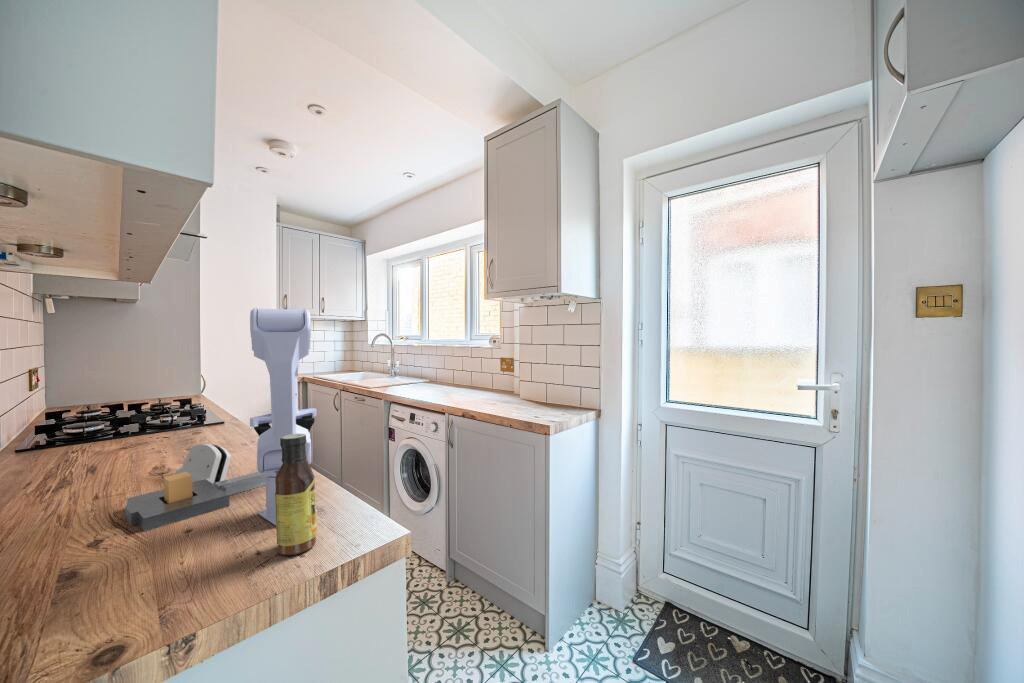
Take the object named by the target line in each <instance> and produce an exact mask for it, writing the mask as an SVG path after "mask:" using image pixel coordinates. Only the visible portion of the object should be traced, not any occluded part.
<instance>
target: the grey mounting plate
mask: <svg viewBox="0 0 1024 683" xmlns="http://www.w3.org/2000/svg"><path fill="white" fill-rule="evenodd" d="M263 485H265V486H266V477H264V473H260V472H259V471H256V472H255V471H254V472H252V473H247V474H243V475H240V476H236V477H233V478H228V479H225V480H224V481H220V482H214V483H211V482H209V481H208V480H206V479H204V480H200V481H196V482H192V491H193V497H190V498H186V499H183V500H179V501H175V502H171V503H168V504H167V502H166V501H165V500H164V488H163V489H160V490H155V491H152V492H147V493H143V494H139V495H135V496H131V497H126V505H125V507H124V508H125V512H124V513H125V519H126V521H127V522H128V523H129V525H130V526H135V525H139V527H140V528H141V529H142V531H143V530H144V531H143V532H147V531H150V529H151V530H153V529H152V528H154V529H157V528H160V527H159V526H161V527H163V526H162V525H164V526H166V524H167V525H170V524H169V523H171V524H173V522H174V523H176V522H181V521H184V520H186V519H190V517H191V518H194V517H197V516H200V515H204V514H208V513H211V512H213V510H214V511H217V510H220V508H221V509H224V508H226V507H227V508H228V507H230V496H233V494H234V495H237V494H241V493H243V491H244V492H247V490H248V491H251V490H254V489H253V488H255V489H257V487H258V488H261V487H260V486H262V487H264V486H263ZM250 489H251V490H250ZM240 492H241V493H240ZM236 493H237V494H236ZM229 495H230V496H229ZM210 511H211V512H210ZM156 527H157V528H156ZM146 530H147V531H146Z"/></svg>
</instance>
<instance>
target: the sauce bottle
mask: <svg viewBox="0 0 1024 683" xmlns="http://www.w3.org/2000/svg"><path fill="white" fill-rule="evenodd" d="M306 442H307V440H306V434H290V435H286V436H283V437H281V438H280V445H281V448H282V462H283V464H282V466H281V467H280V469H279V471H278V473H277V475H276V478H275V484H276V492H275V506H276V525H275V527H276V529H275V530H276V544H277V550H278V553H279V554H281V555H283V556H295V555H298V554H302V553H304V552H308V551H309V550H311V549H312V548H313V547H314V546H315V544H316V542H317V537H316V536H317V534H318V532H317V512H316V509H317V505H316V502H317V500H316V481H315V479H316V477H315V475H314V473H313V472H314V471H313V470H312V467H311V464H309V462H308V460H307V458H306V446H305V444H306Z"/></svg>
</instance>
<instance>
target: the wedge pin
mask: <svg viewBox="0 0 1024 683" xmlns="http://www.w3.org/2000/svg"><path fill="white" fill-rule="evenodd" d="M163 489H164V500H165V501H166V502H167V504H168V503H171V502H175V501H179V500H183V499H186V498H190V497H193V491H192V475H191V474H189V473H188V472H184V473H179V474H175V473H174V474H171V475H166V476H163Z"/></svg>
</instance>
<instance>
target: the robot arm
mask: <svg viewBox="0 0 1024 683" xmlns="http://www.w3.org/2000/svg"><path fill="white" fill-rule="evenodd" d="M249 314H250V315H249V329H250V330H249V332H250V338H251V339H250V340H251V351H253V357H255V358H257V359H258V360H259V359H260V360H261V361H262V362H264V364H265V366H266V368H267V370H268V371H267V372H268V375H269V386H270V406H271V407H270V408H271V409H270V410H271V413H267V414H262V415H258V416H253V417H250V418H249V426H250V427H252V428H253V430H254V431H255V433H256V434H257V436H258V437H259V438H257V444H256V445H257V446H256V448H257V449H256V464H257V465H256V469H257V472H260V473H264V477H266V485H265V506H266V507H265V509H263V510H260V511H258V515H259V516H261V517H262V518H263V519H265V520H267V521H269V522H270V523H271V524H273V525H274V526H276V506H275V492H276V484H275V478H276V475H277V473H278V471H279V469H280V467H281V466H282V464H283V462H282V448H281V445H280V438H281V437H283V436H286V435H290V434H306V440H307V442H306V444H305V446H306V458H307V460H308V462H309V465H311V463H312V440H311V433H310V431H311V429H312V427H313V425H314V423H315V419H316V418H314V417H317V414H318V413H317V411H318V410H317V408H314V407H313V408H311V407H310V408H304V409H299V387H298V386H299V385H298V380H299V379H298V377H299V368H300V360H301V359H304V358H305V357H307V356H308V355H309V354H310V353H309V352H310V349H311V338H312V335H311V334H312V332H311V331H312V323H311V311H309V310H308V308H303V309H297V308H296V309H294V308H293V309H292V308H291V309H290V308H289V309H287V308H286V309H285V308H284V309H283V308H258V307H253V309H251V310H250V313H249ZM317 512H318V509H317V508H316V513H317Z"/></svg>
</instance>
